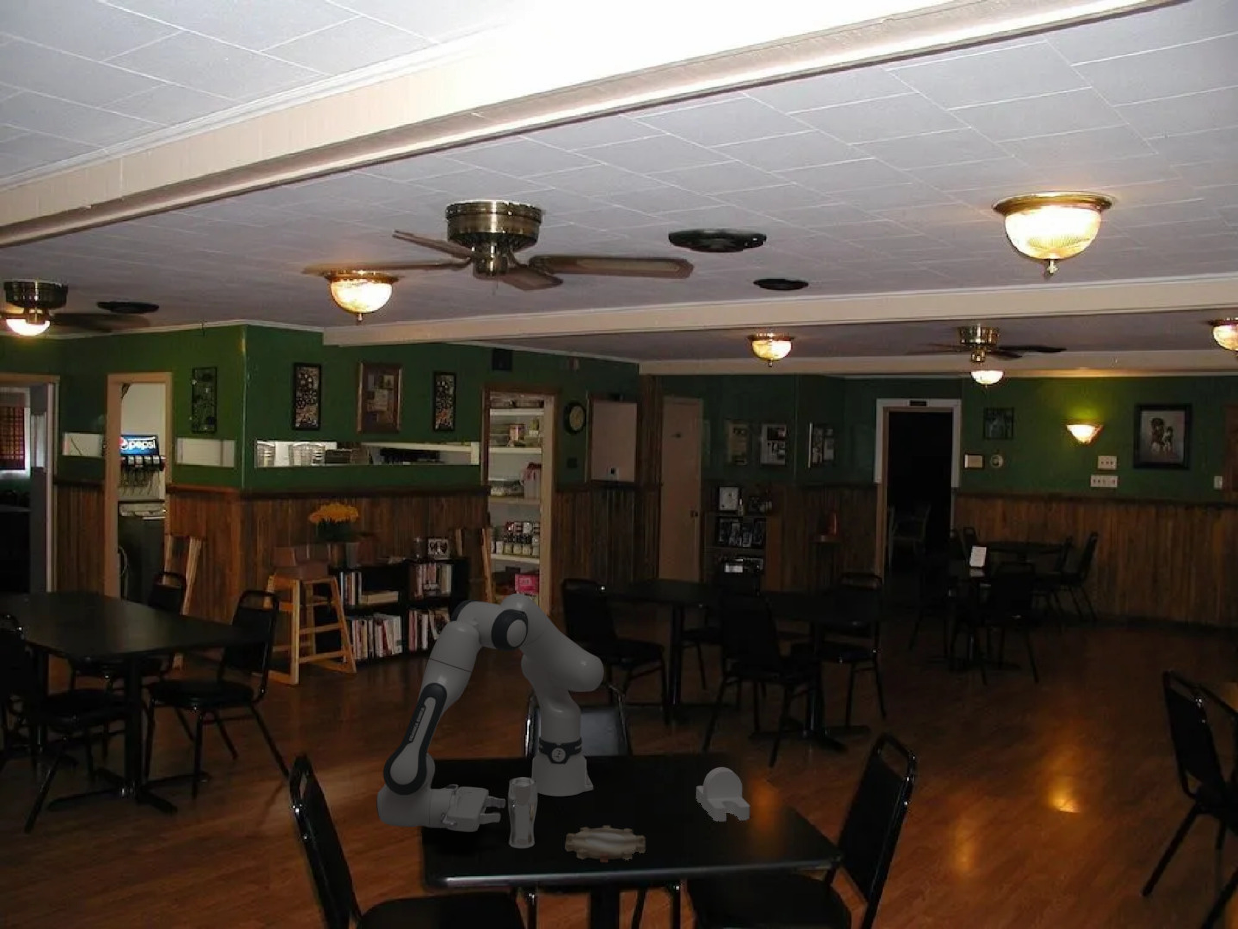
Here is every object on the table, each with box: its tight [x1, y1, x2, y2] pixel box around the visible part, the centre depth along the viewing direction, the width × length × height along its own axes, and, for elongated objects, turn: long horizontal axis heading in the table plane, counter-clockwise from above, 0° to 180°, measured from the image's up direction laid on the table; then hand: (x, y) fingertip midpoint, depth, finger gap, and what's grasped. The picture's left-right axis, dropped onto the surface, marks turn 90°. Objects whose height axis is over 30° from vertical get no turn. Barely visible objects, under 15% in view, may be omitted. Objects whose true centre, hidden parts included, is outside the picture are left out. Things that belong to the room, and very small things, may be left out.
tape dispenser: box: [695, 766, 751, 822], centre depth 291 cm, size 10×18×11 cm, turn 12°
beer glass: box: [507, 776, 538, 849], centre depth 263 cm, size 7×7×15 cm
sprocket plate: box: [564, 824, 646, 863], centre depth 263 cm, size 19×19×2 cm
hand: (502, 810), depth 263 cm, fingers open, 8 cm apart
